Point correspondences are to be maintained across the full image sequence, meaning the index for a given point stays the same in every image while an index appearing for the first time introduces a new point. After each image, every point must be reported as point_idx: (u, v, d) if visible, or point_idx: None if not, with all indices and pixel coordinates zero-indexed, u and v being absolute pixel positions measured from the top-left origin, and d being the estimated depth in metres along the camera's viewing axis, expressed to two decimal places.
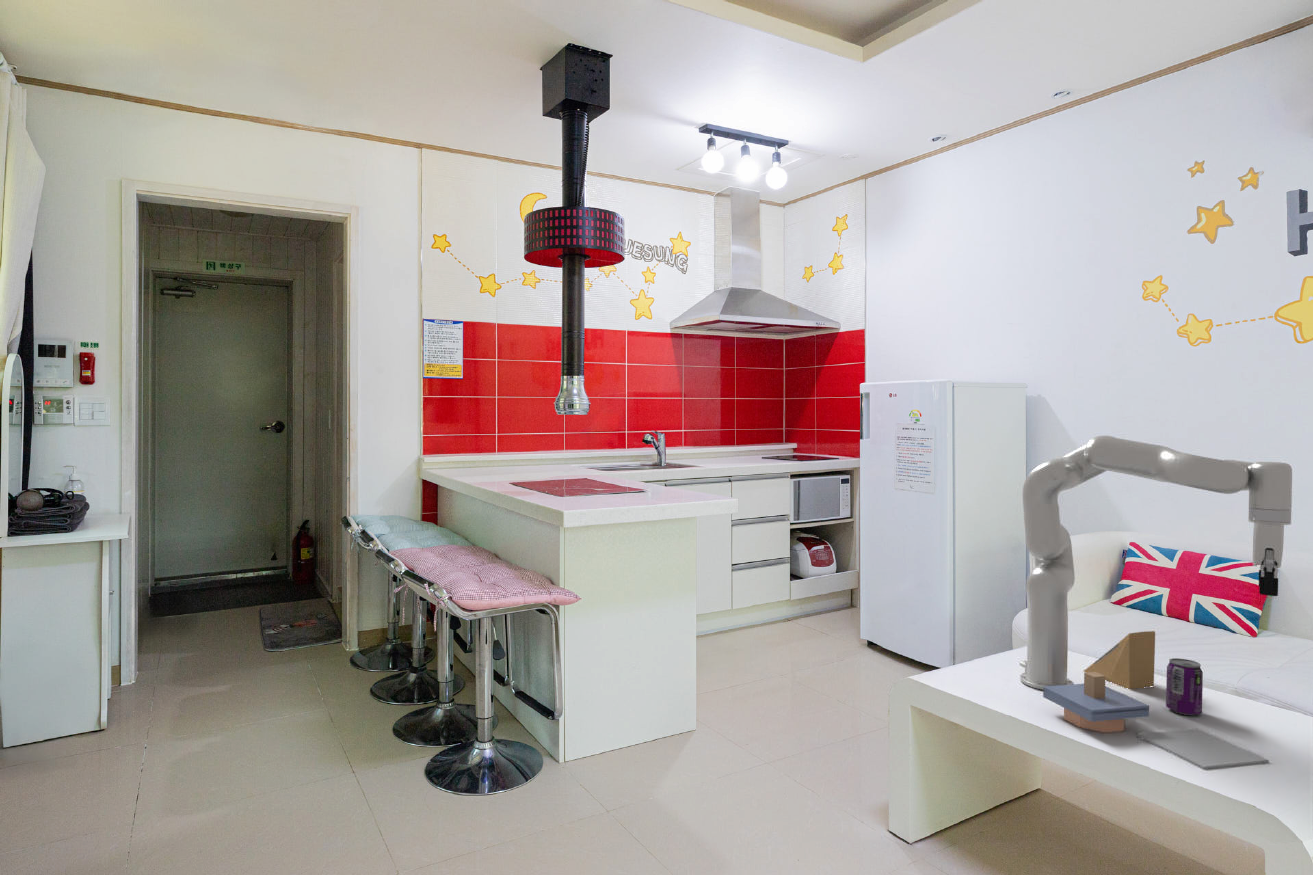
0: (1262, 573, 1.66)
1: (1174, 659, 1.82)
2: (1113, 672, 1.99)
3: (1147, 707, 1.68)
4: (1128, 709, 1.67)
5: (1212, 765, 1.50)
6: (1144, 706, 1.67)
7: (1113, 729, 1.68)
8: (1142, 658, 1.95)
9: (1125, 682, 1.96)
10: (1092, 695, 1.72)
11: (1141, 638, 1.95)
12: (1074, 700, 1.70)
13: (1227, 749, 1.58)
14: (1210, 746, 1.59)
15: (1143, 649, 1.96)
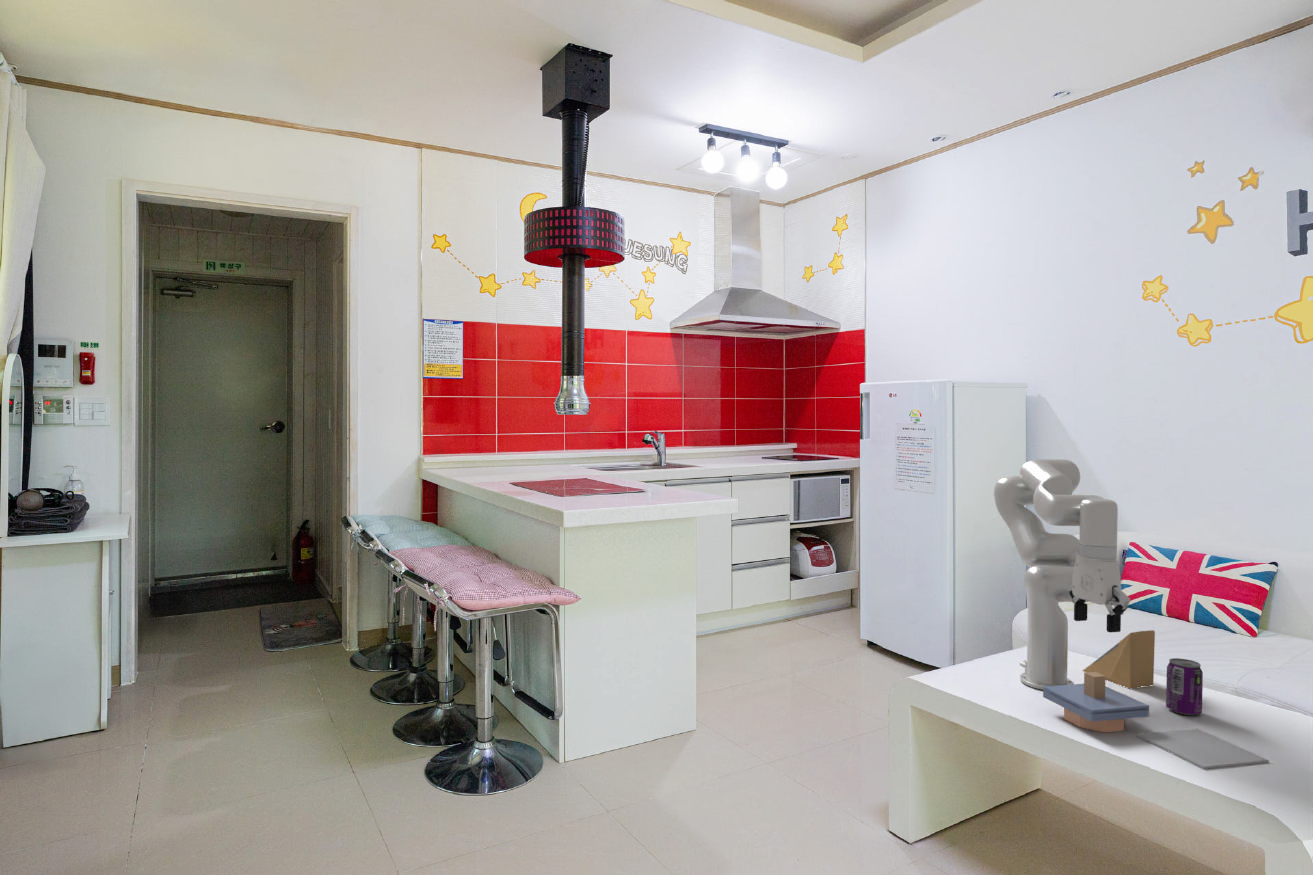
0: (1113, 611, 1.67)
1: (1174, 659, 1.82)
2: (1113, 671, 2.00)
3: (1147, 707, 1.68)
4: (1128, 709, 1.67)
5: (1212, 765, 1.50)
6: (1144, 706, 1.67)
7: (1113, 729, 1.68)
8: (1142, 657, 1.96)
9: (1126, 682, 1.96)
10: (1092, 695, 1.72)
11: (1141, 637, 1.96)
12: (1074, 700, 1.70)
13: (1227, 749, 1.58)
14: (1210, 746, 1.59)
15: (1143, 649, 1.96)
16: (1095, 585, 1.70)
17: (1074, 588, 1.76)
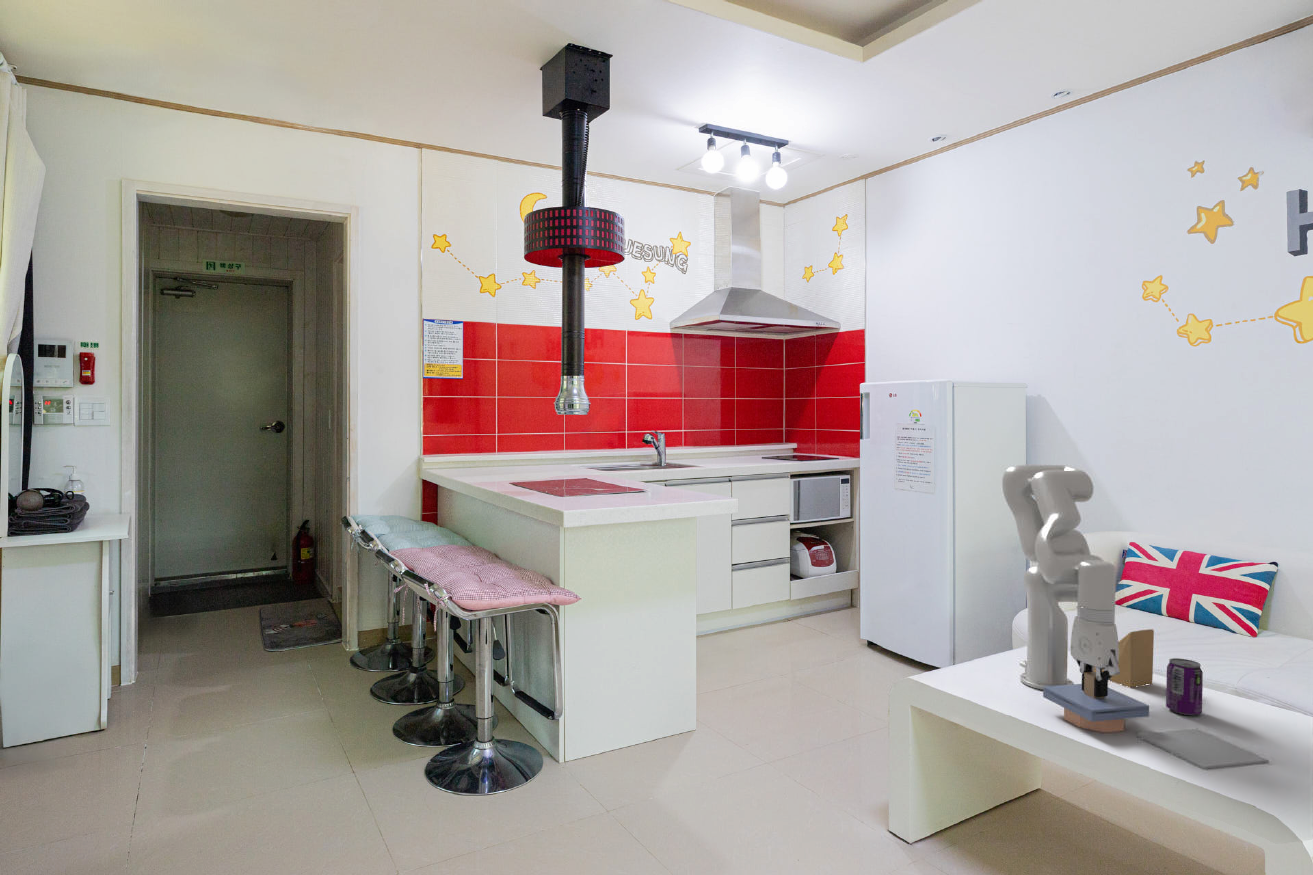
0: (1101, 678, 1.70)
1: (1174, 659, 1.82)
2: None
3: (1147, 707, 1.68)
4: (1128, 709, 1.67)
5: (1212, 765, 1.50)
6: (1144, 706, 1.67)
7: (1113, 729, 1.68)
8: (1142, 656, 1.97)
9: (1126, 681, 1.97)
10: (1092, 695, 1.72)
11: (1141, 636, 1.97)
12: (1074, 700, 1.70)
13: (1227, 749, 1.58)
14: (1210, 746, 1.59)
15: (1143, 648, 1.97)
16: (1093, 648, 1.70)
17: (1072, 649, 1.77)
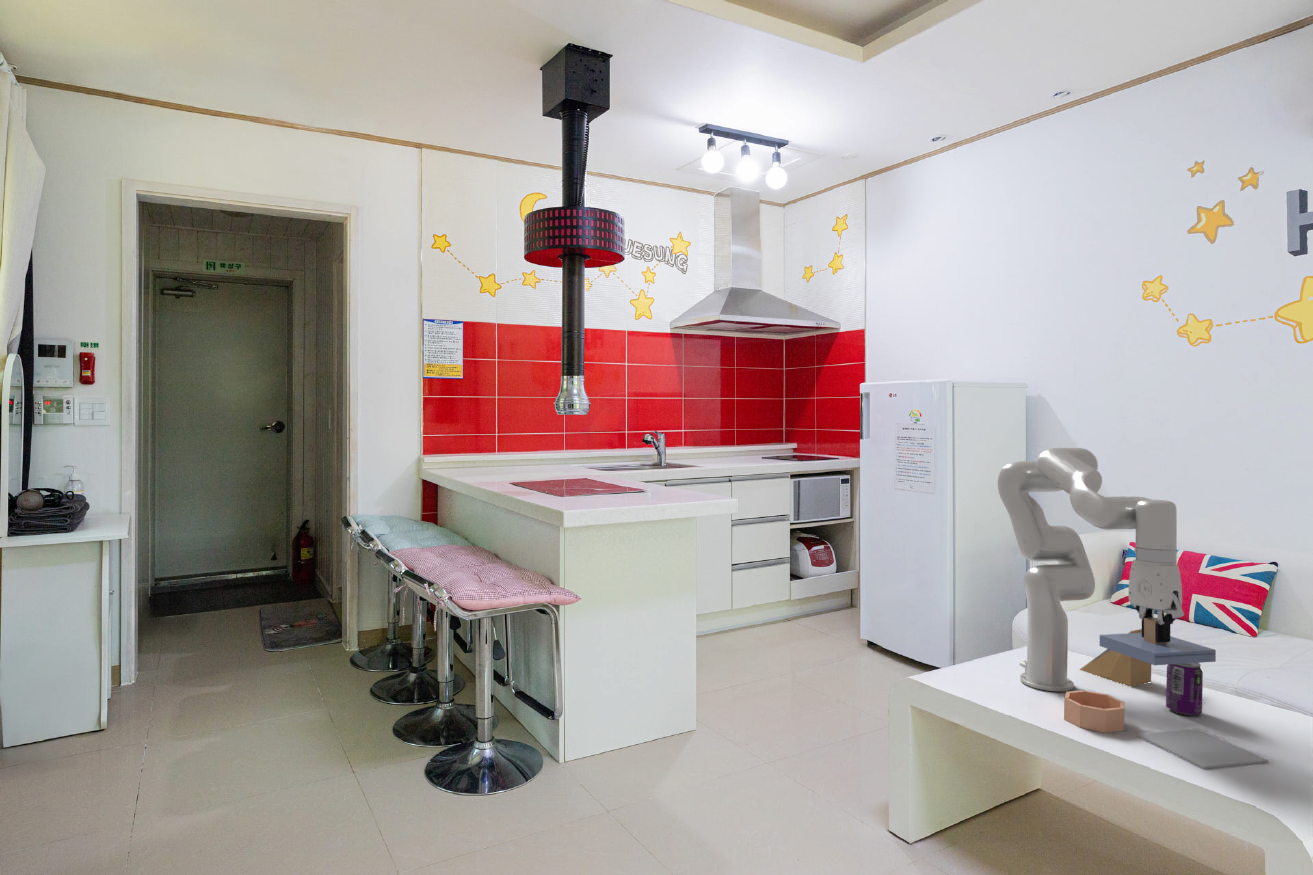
0: (1163, 622, 1.61)
1: None
2: (1113, 670, 2.01)
3: (1214, 652, 1.58)
4: (1194, 653, 1.57)
5: (1212, 765, 1.50)
6: (1210, 650, 1.58)
7: (1113, 729, 1.68)
8: None
9: (1126, 680, 1.98)
10: (1153, 641, 1.63)
11: None
12: (1134, 645, 1.62)
13: (1227, 749, 1.58)
14: (1210, 746, 1.59)
15: None
16: (1154, 590, 1.62)
17: (1131, 594, 1.68)
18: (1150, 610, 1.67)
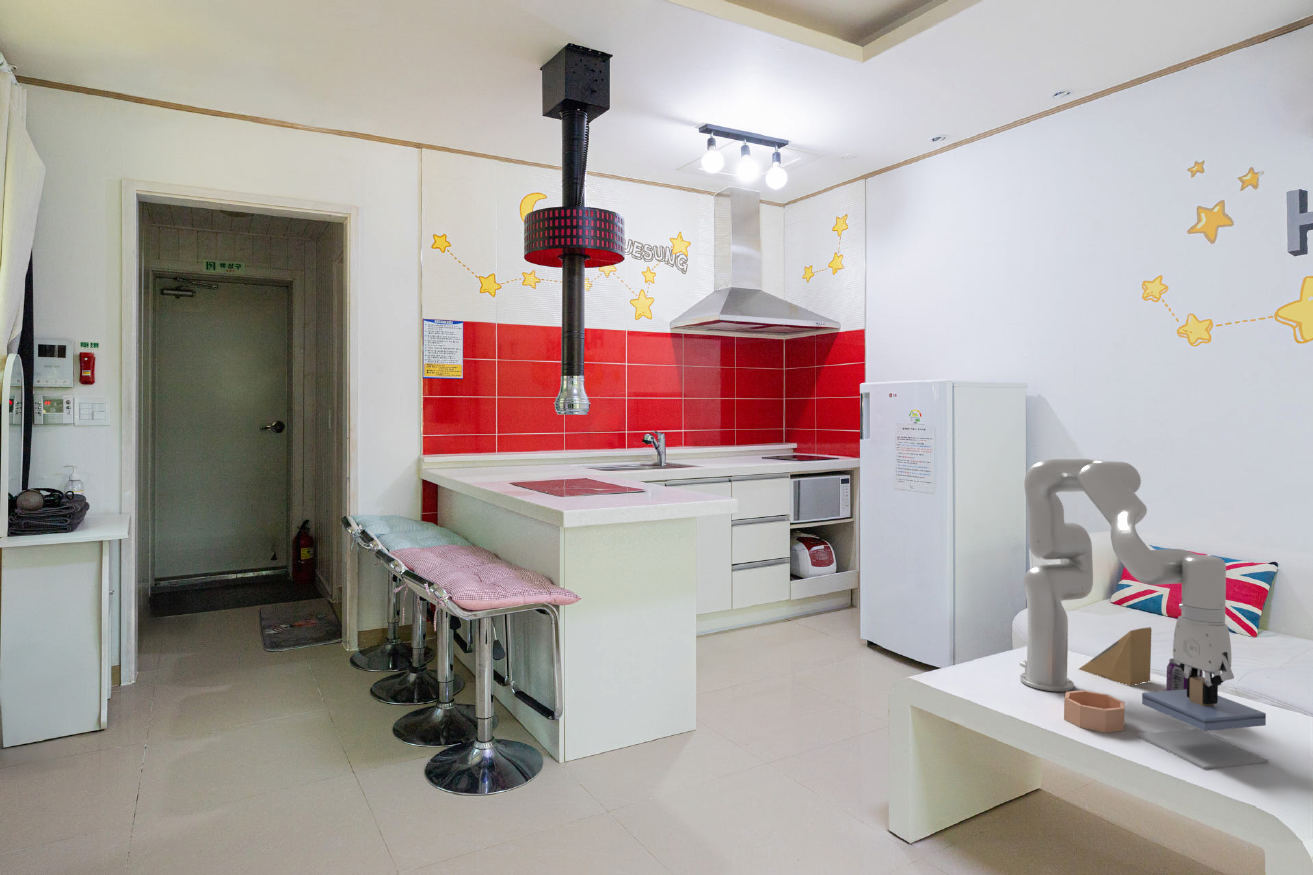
0: (1211, 684, 1.55)
1: None
2: (1112, 669, 2.01)
3: (1264, 715, 1.53)
4: (1244, 717, 1.52)
5: (1212, 765, 1.50)
6: (1260, 714, 1.53)
7: (1113, 729, 1.68)
8: (1141, 654, 1.99)
9: (1126, 679, 1.98)
10: (1200, 702, 1.57)
11: (1140, 635, 1.99)
12: (1182, 708, 1.56)
13: (1227, 749, 1.58)
14: (1210, 746, 1.59)
15: (1142, 646, 1.99)
16: (1202, 651, 1.56)
17: (1175, 652, 1.62)
18: (1195, 669, 1.61)
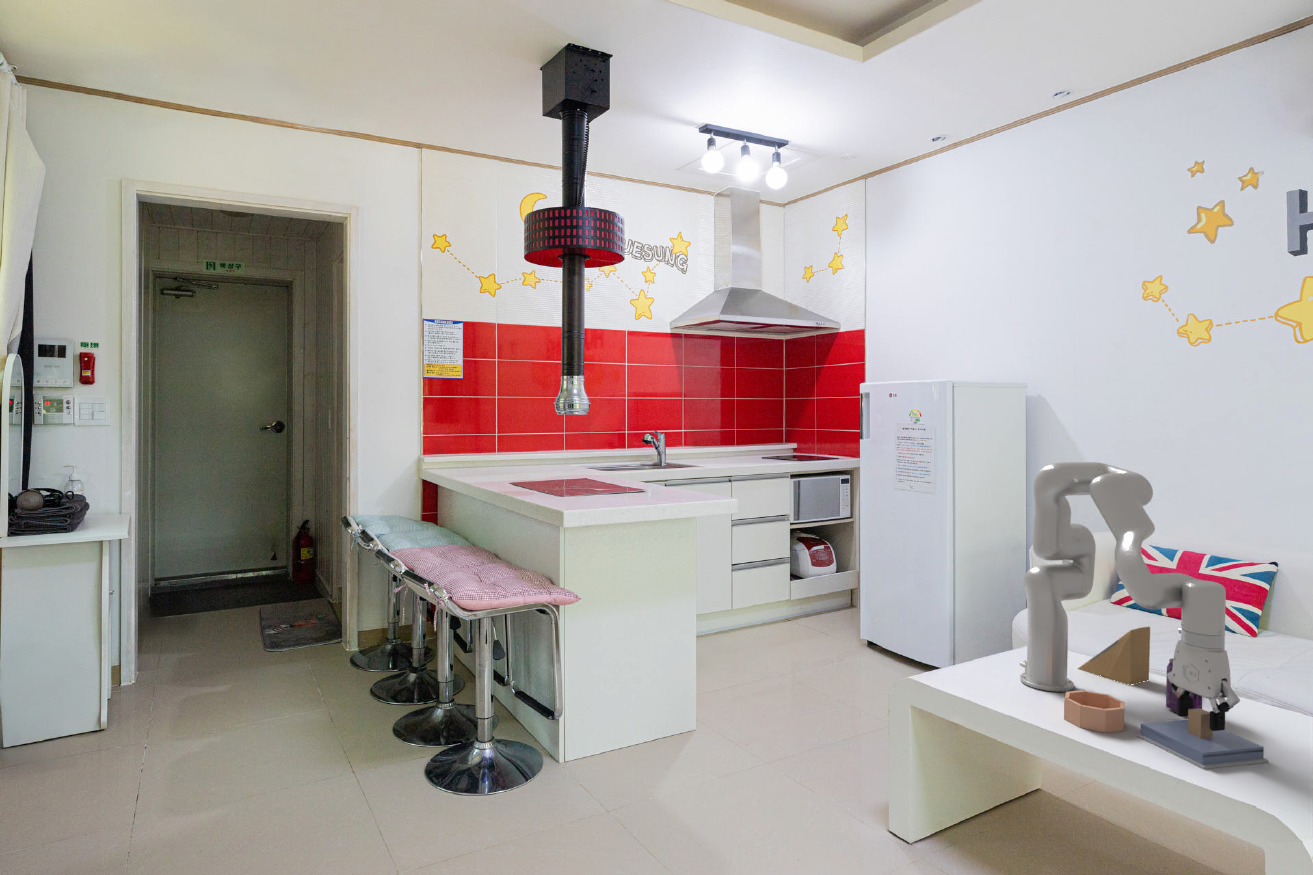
0: (1218, 709, 1.54)
1: None
2: (1112, 669, 2.02)
3: (1262, 749, 1.53)
4: (1242, 751, 1.52)
5: (1212, 765, 1.50)
6: (1258, 748, 1.53)
7: (1113, 729, 1.68)
8: (1140, 653, 1.99)
9: (1126, 678, 1.99)
10: (1198, 734, 1.58)
11: (1139, 634, 1.99)
12: (1180, 740, 1.56)
13: None
14: None
15: (1141, 645, 2.00)
16: (1201, 677, 1.56)
17: (1174, 676, 1.62)
18: None
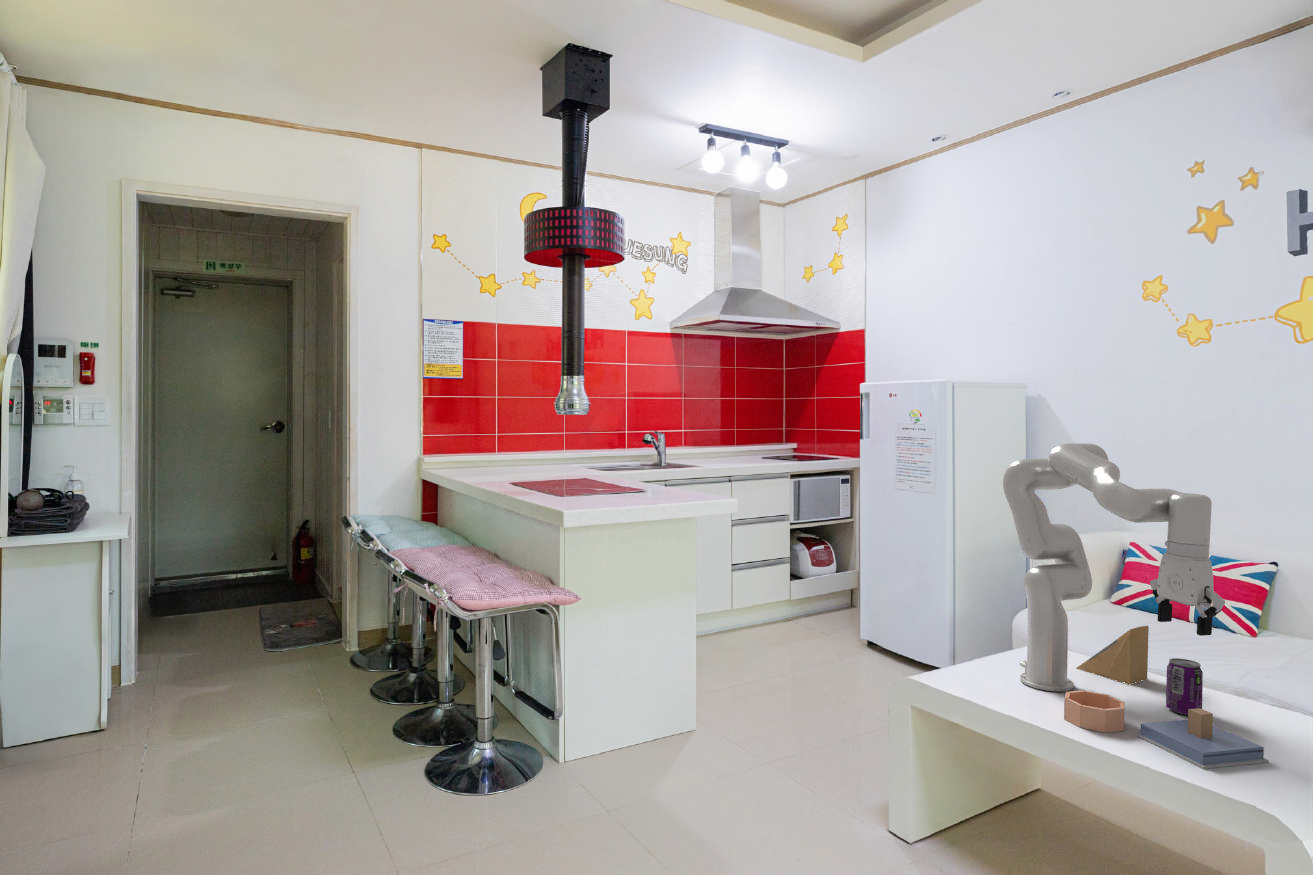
0: (1205, 614, 1.57)
1: (1174, 659, 1.82)
2: (1111, 668, 2.02)
3: (1262, 749, 1.53)
4: (1242, 751, 1.52)
5: (1212, 765, 1.50)
6: (1258, 748, 1.53)
7: (1113, 729, 1.68)
8: (1139, 652, 2.00)
9: (1126, 677, 1.99)
10: (1198, 734, 1.58)
11: (1138, 633, 2.00)
12: (1180, 740, 1.56)
13: None
14: None
15: (1140, 644, 2.00)
16: (1185, 585, 1.60)
17: (1159, 587, 1.66)
18: None
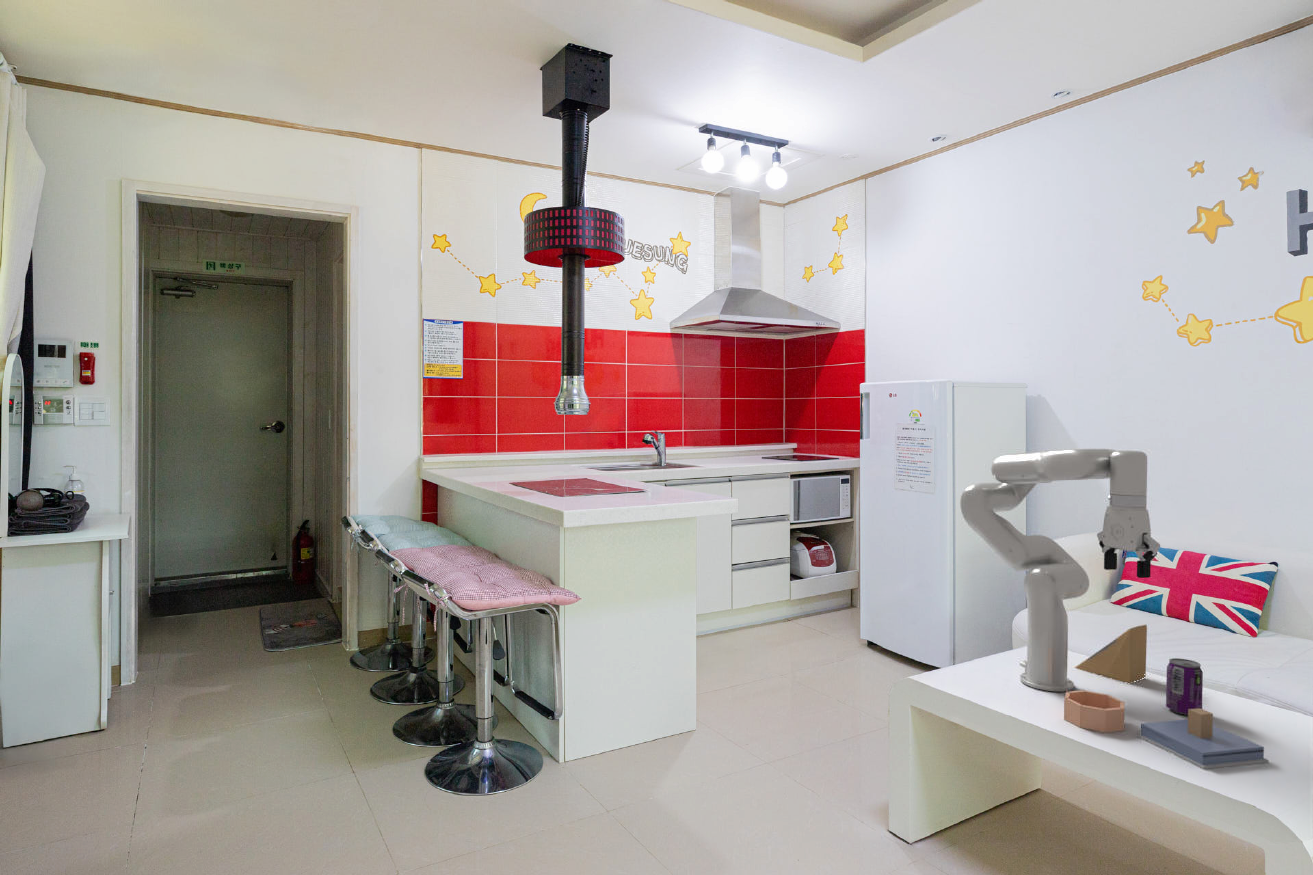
0: (1144, 557, 1.73)
1: (1174, 659, 1.82)
2: (1110, 667, 2.03)
3: (1262, 749, 1.53)
4: (1242, 751, 1.52)
5: (1212, 765, 1.50)
6: (1258, 748, 1.53)
7: (1113, 729, 1.68)
8: (1138, 651, 2.01)
9: (1125, 677, 2.00)
10: (1198, 734, 1.58)
11: (1137, 632, 2.01)
12: (1180, 740, 1.56)
13: None
14: None
15: (1139, 643, 2.01)
16: (1125, 533, 1.76)
17: (1104, 538, 1.82)
18: None
